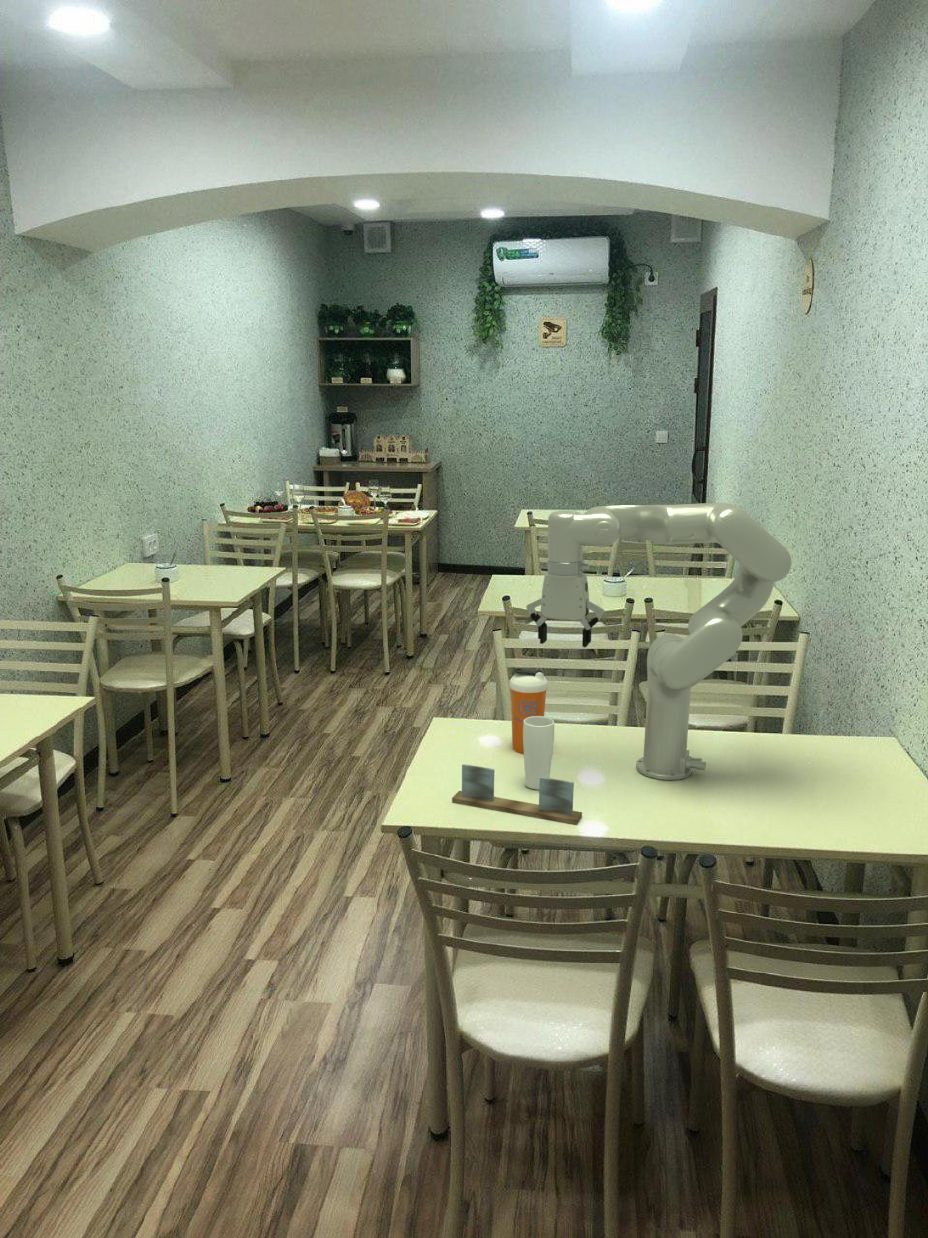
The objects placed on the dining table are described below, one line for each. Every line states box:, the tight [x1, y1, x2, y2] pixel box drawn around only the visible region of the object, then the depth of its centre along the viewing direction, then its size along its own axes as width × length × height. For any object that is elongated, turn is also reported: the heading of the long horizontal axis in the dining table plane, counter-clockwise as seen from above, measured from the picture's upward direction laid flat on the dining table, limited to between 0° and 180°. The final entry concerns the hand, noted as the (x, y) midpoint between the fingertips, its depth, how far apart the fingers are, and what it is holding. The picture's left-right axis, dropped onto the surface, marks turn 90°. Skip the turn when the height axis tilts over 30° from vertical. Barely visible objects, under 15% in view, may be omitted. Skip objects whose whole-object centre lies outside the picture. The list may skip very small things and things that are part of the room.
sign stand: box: [451, 763, 583, 826], centre depth 193 cm, size 27×4×8 cm, turn 68°
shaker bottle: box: [509, 667, 548, 755], centre depth 225 cm, size 9×9×20 cm
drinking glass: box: [523, 716, 555, 791], centre depth 204 cm, size 7×7×15 cm
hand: (564, 644), depth 208 cm, fingers open, 9 cm apart
